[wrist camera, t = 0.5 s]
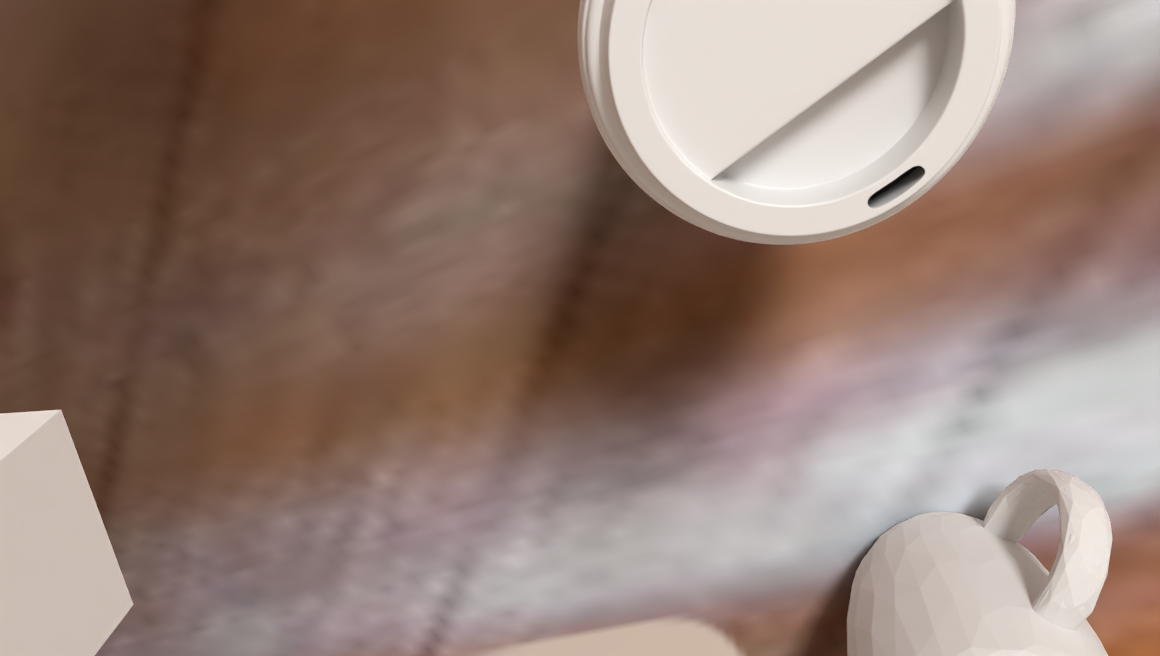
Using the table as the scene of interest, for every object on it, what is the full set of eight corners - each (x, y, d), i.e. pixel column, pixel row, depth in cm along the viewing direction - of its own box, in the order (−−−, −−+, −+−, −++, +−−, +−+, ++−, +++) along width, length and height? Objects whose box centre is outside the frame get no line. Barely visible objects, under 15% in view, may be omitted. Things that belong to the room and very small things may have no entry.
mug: (978, 682, 45) (1053, 883, 36) (794, 614, 44) (823, 801, 35) (1140, 457, 40) (1276, 626, 31) (935, 378, 39) (1011, 525, 30)
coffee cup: (655, 158, 37) (638, 316, 23) (580, -113, 33) (506, -116, 20) (920, 85, 35) (1072, 210, 21) (868, -210, 31) (1011, -290, 18)
